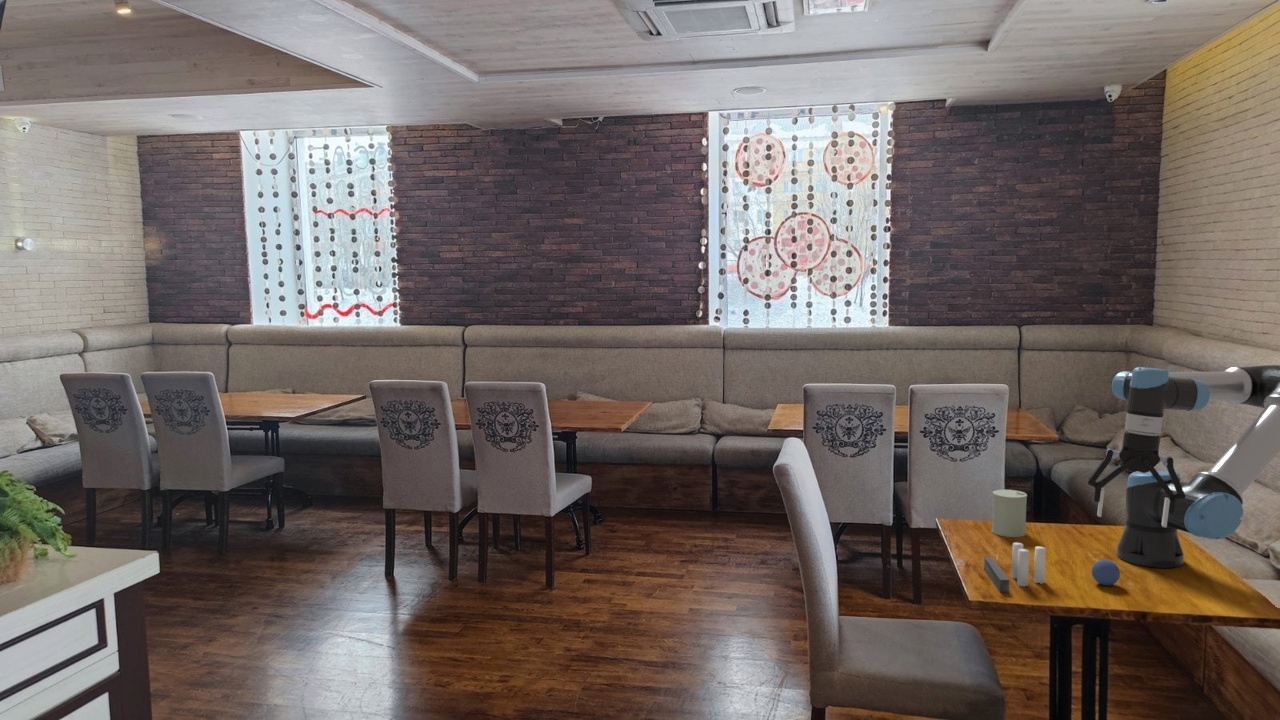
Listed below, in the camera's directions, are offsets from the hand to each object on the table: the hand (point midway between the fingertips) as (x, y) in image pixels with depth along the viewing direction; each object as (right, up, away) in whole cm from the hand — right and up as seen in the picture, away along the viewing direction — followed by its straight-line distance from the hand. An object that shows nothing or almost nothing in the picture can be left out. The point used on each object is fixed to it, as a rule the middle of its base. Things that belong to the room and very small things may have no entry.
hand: (1131, 520), depth 211 cm
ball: (-5, -13, +2) cm, 14 cm away
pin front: (-20, -16, +4) cm, 26 cm away
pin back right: (-24, -15, +7) cm, 29 cm away
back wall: (-30, -16, +6) cm, 34 cm away
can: (-11, -12, +44) cm, 47 cm away
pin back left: (-25, -16, +2) cm, 30 cm away
